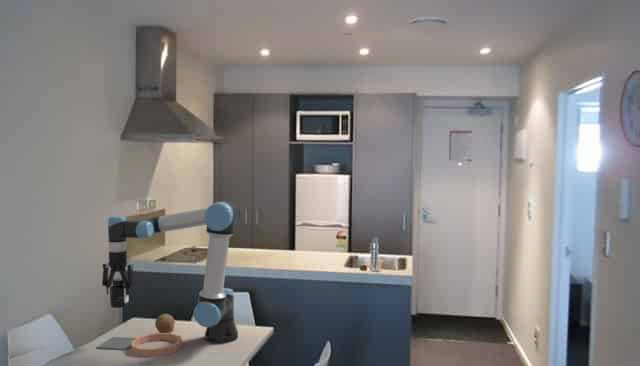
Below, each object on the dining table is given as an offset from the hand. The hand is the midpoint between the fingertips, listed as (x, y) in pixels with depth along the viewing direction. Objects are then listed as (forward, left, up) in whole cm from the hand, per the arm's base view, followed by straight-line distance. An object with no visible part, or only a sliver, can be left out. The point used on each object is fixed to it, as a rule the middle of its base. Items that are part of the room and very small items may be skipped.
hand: (118, 301), depth 242 cm
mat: (0, 0, -19) cm, 19 cm away
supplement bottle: (0, 0, -2) cm, 2 cm away
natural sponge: (-15, -15, -19) cm, 29 cm away
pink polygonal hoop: (-19, +2, -19) cm, 27 cm away
